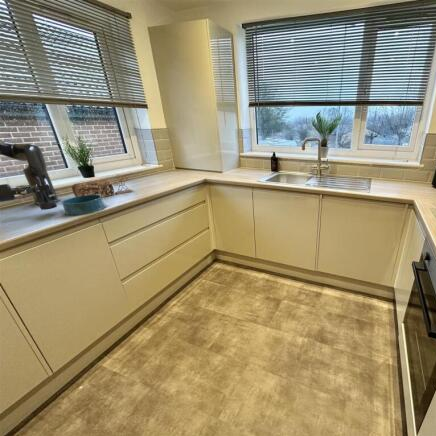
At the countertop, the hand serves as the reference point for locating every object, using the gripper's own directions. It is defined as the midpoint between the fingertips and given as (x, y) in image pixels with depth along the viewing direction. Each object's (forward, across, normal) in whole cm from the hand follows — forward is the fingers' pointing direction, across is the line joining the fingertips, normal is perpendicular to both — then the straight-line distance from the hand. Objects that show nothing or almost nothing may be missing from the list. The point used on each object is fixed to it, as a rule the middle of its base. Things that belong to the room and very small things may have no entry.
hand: (48, 186), depth 119 cm
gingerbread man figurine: (+33, +18, +14) cm, 40 cm away
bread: (+18, +20, +14) cm, 30 cm away
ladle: (-3, 0, +10) cm, 11 cm away
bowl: (+10, -6, +14) cm, 18 cm away
